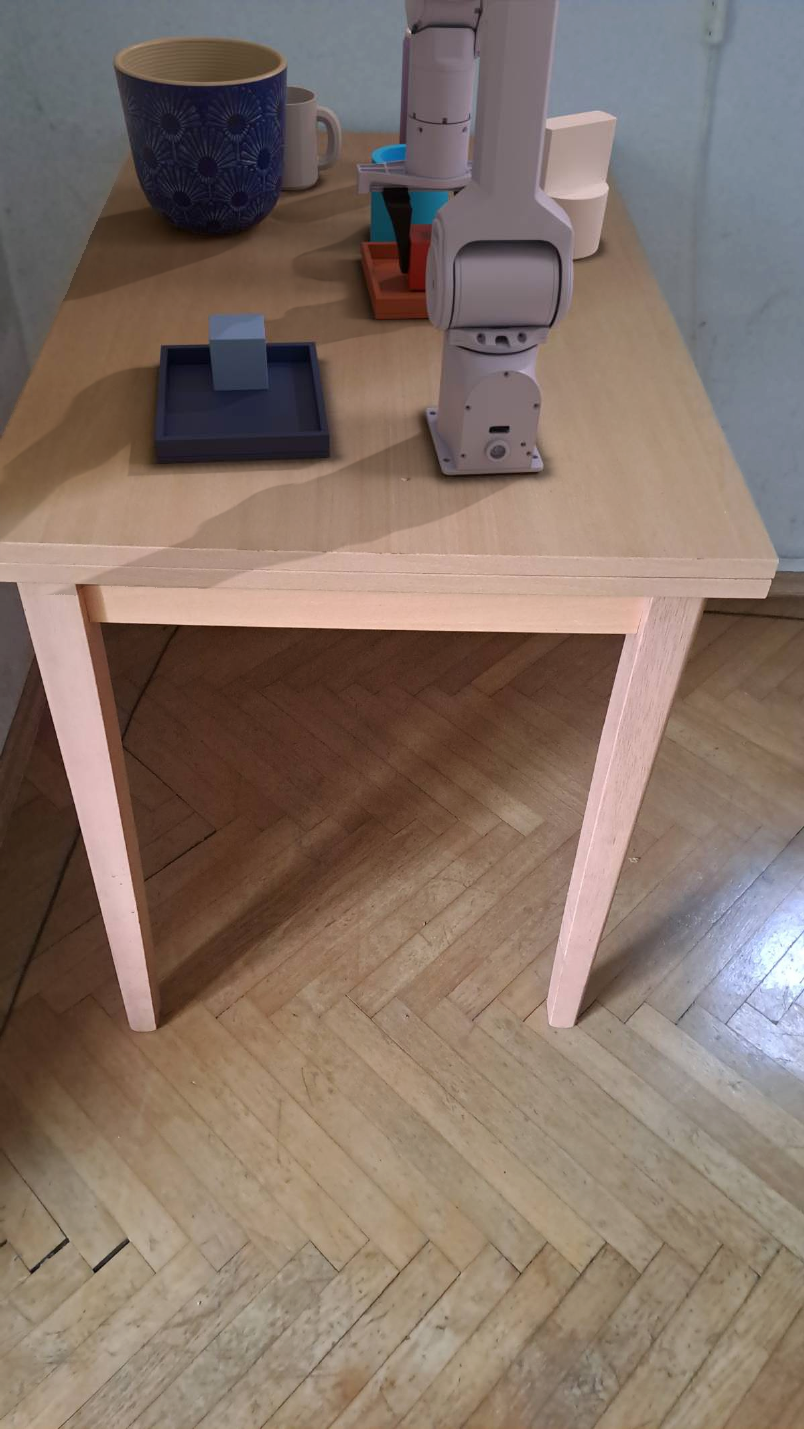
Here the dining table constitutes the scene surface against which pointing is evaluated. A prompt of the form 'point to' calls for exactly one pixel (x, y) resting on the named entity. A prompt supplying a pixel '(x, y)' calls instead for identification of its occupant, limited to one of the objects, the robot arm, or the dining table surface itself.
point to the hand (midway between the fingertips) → (429, 269)
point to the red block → (418, 255)
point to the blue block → (238, 351)
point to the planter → (206, 128)
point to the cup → (307, 139)
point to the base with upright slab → (579, 172)
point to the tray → (390, 283)
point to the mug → (420, 201)
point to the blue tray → (240, 408)
